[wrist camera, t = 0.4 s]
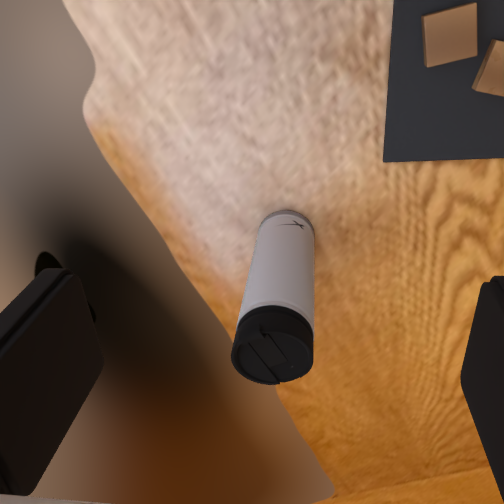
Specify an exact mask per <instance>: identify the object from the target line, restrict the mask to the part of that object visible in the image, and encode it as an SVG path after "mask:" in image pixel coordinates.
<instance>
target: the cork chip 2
mask: <svg viewBox="0 0 504 504" xmlns="http://www.w3.org/2000/svg"><path fill="white" fill-rule="evenodd" d="M472 89H474V90H475V91H479V92H484V93H489V94H493V95H498V96H503V97H504V41H499V40H495V39H492V40H491V43H490V45H489V47H488V50H487V52H486V55H485V57H484V59H483V62H482V64H481V66H480V69H479V71H478V73H477V76H476V78H475V80H474V83H473V85H472Z"/></svg>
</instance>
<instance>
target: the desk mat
mask: <svg viewBox="0 0 504 504" xmlns="http://www.w3.org/2000/svg"><path fill="white" fill-rule="evenodd" d="M470 2H475V3H477V53H478V55H477V56H474V57H470V58H466V59H462V60H458V61H453V62H449V63H445V64H441V65H437V66H433V67H429V68H427V67H426V66H425V65H424V52H423V38H422V23H421V16H422V15H426V14H429V13H433V12H437V11H441V10H444V9H448V8H452V7H455V6H459V5H463V4H467V3H470ZM492 39H495V40H499V41H504V0H394V7H393V22H392V36H391V51H390V66H389V80H388V95H387V109H386V124H385V139H384V153H383V162H409V161H436V160H463V159H490V158H504V97H503V96H498V95H493V94H489V93H484V92H479V91H475V90H474V89H472V85H473V83H474V80H475V78H476V76H477V73H478V71H479V69H480V66H481V64H482V62H483V59H484V57H485V55H486V52H487V50H488V47H489V45H490V43H491V40H492Z"/></svg>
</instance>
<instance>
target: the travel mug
mask: <svg viewBox="0 0 504 504" xmlns="http://www.w3.org/2000/svg"><path fill="white" fill-rule="evenodd" d="M313 342H314V229H313V227H312V225H311V223H310V222H309V220H308V219H307V218H305V217H304V216H303V215H301V214H299V213H297V212H294V211H284V210H283V211H277V212H275V213H272V214H270V215H269V216H267V217H266V218H265V219H264V220H263V222H262V223H261V225H260V227H259V231H258V235H257V239H256V244H255V248H254V252H253V257H252V261H251V266H250V270H249V274H248V279H247V283H246V287H245V292H244V296H243V301H242V305H241V309H240V314H239V318H238V322H237V327H236V334H235V339H234V343H233V348H232V353H231V361H232V363H233V366H234V367H235V369H236V370H237V371H238V372H239V373H240V374H241V375H242V376H244V377H245V378H247V379H249V380H251V381H254V382H257V383H260V384H266V385H276V384H280V382H288V381H292V380H294V379H297V378H299V377H300V378H301V377H302V376H304V375H305V374H307V373H308V372H309V371H310V369H311V367H312V365H313Z"/></svg>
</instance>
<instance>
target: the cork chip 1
mask: <svg viewBox="0 0 504 504" xmlns="http://www.w3.org/2000/svg"><path fill="white" fill-rule="evenodd" d="M421 23H422V38H423V52H424V65H425V66H426V67H427V68H429V67H433V66H437V65H441V64H445V63H449V62H453V61H458V60H462V59H466V58H470V57H474V56H477V55H478V53H477V3H475V2H470V3H467V4H463V5H459V6H455V7H452V8H448V9H444V10H441V11H437V12H433V13H429V14H426V15H422V16H421Z"/></svg>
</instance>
